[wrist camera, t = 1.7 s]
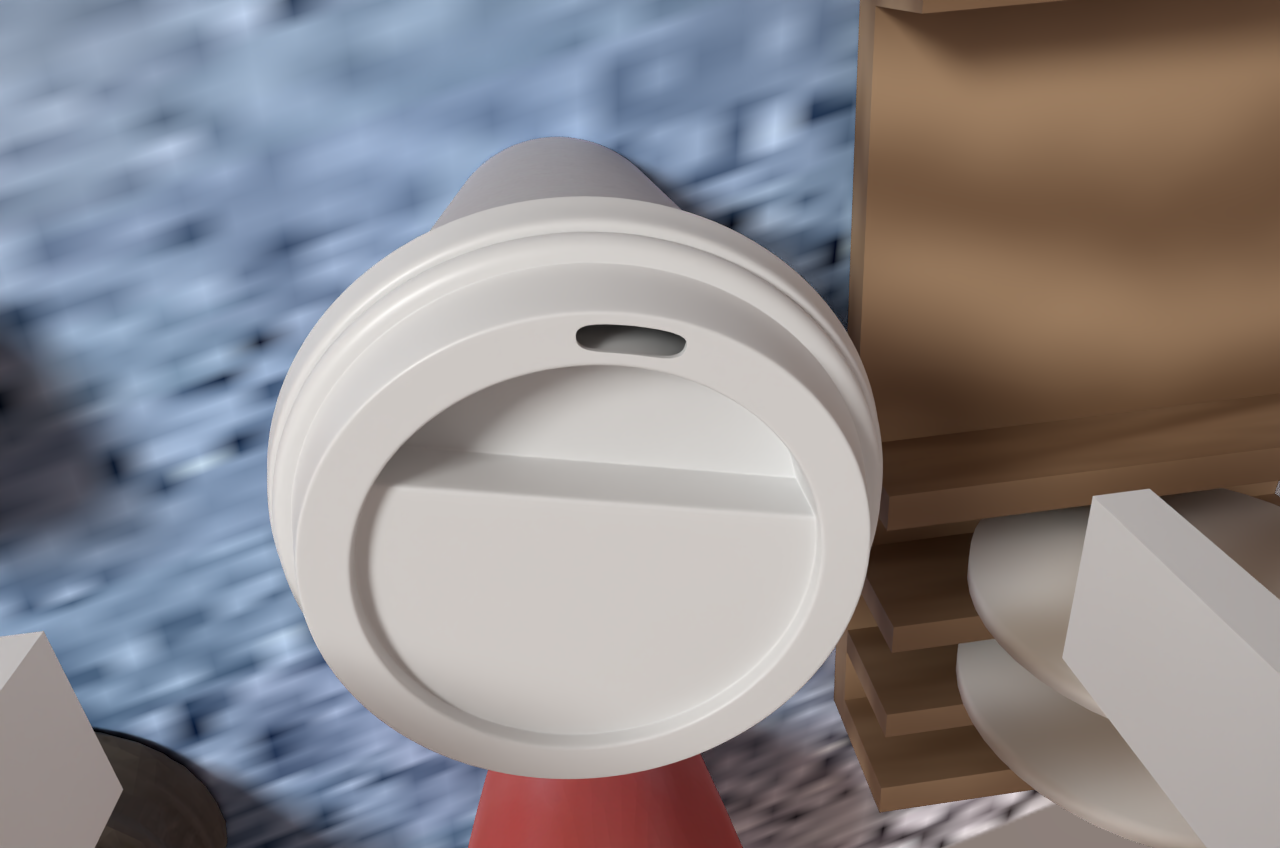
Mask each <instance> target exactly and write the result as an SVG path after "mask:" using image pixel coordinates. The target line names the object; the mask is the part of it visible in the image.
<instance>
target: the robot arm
mask: <svg viewBox="0 0 1280 848" xmlns="http://www.w3.org/2000/svg"><path fill="white" fill-rule="evenodd" d="M1062 658H1063V660H1064V661H1065V662H1066V664H1067V665H1068V666H1069V668H1070V669H1071V670H1072V672H1073V673H1074V674H1075V676H1076V677H1077V678H1078V679H1079V681H1080V682H1081V683H1082V685H1083V686H1084V687H1085V689H1086V690H1087V691H1088V693H1089V694H1090V695H1091V697H1092V698H1093V699H1094V700H1095V702H1096V703H1097V704H1098V706H1099V707H1100V708H1101V710H1102V711H1103V712H1104V714H1105V715H1106V716H1107V718H1108V719H1109V720H1110V721H1111V723H1112V724H1113V725H1114V727H1115V728H1116V729H1117V731H1118V732H1119V733H1120V735H1121V736H1122V737H1123V739H1124V740H1125V741H1126V742H1127V744H1128V745H1129V746H1130V748H1131V749H1132V750H1133V752H1134V753H1135V754H1136V756H1137V757H1138V758H1139V760H1140V761H1141V762H1142V764H1143V765H1144V766H1145V767H1146V769H1147V770H1148V771H1149V773H1150V774H1151V775H1152V777H1153V778H1154V779H1155V781H1156V782H1157V783H1158V785H1159V786H1160V787H1161V788H1162V790H1163V791H1164V792H1165V794H1166V795H1167V796H1168V798H1169V799H1170V800H1171V802H1172V803H1173V804H1174V806H1175V807H1176V808H1177V809H1178V811H1179V812H1180V813H1181V815H1182V816H1183V817H1184V819H1185V820H1186V821H1187V823H1188V824H1189V825H1190V827H1191V828H1192V829H1193V831H1194V832H1195V833H1196V834H1197V836H1198V837H1199V838H1200V840H1201V841H1202V842H1203V844H1204V845H1205V846H1206V848H1280V600H1279V599H1278V598H1277V597H1276V596H1275V595H1273V594H1272V593H1271V592H1270V591H1269V590H1268V589H1266V588H1265V587H1264V586H1263V585H1262V584H1261V583H1259V582H1258V581H1257V580H1256V579H1255V578H1254V577H1252V576H1251V575H1250V574H1249V573H1248V572H1247V571H1245V570H1244V569H1243V568H1242V567H1241V566H1240V565H1238V564H1237V563H1236V562H1235V561H1234V560H1233V559H1231V558H1230V557H1229V556H1228V555H1227V554H1225V553H1224V552H1223V551H1222V550H1221V549H1220V548H1218V547H1217V546H1216V545H1215V544H1214V543H1213V542H1211V541H1210V540H1209V539H1208V538H1207V537H1206V536H1204V535H1203V534H1202V533H1201V532H1200V531H1199V530H1197V529H1196V528H1195V527H1194V526H1193V525H1192V524H1190V523H1189V522H1188V521H1187V520H1186V519H1185V518H1183V517H1182V516H1181V515H1180V514H1179V513H1178V512H1176V511H1175V510H1174V509H1173V508H1172V507H1171V506H1169V505H1168V504H1167V503H1166V502H1165V501H1164V500H1162V499H1161V498H1160V497H1159V496H1158V495H1157V494H1155V493H1154V492H1153V491H1152V490H1151V489H1143V490H1135V491H1128V492H1120V493H1112V494H1104V495H1096V496H1093V498H1092V503H1091V509H1090V514H1089V519H1088V524H1087V530H1086V535H1085V540H1084V545H1083V551H1082V556H1081V561H1080V567H1079V572H1078V577H1077V582H1076V588H1075V593H1074V598H1073V603H1072V609H1071V614H1070V619H1069V625H1068V630H1067V635H1066V640H1065V646H1064V651H1063V656H1062ZM122 791H123V788H122V786H121V784H120V782H119V780H118V778H117V776H116V774H115V772H114V770H113V768H112V766H111V764H110V762H109V760H108V758H107V756H106V754H105V752H104V750H103V748H102V746H101V744H100V742H99V740H98V738H97V736H96V734H95V732H94V730H93V729H92V727H91V725H90V723H89V721H88V719H87V717H86V715H85V713H84V711H83V709H82V707H81V705H80V703H79V701H78V699H77V697H76V695H75V693H74V691H73V689H72V687H71V685H70V683H69V681H68V679H67V677H66V675H65V673H64V671H63V669H62V667H61V665H60V663H59V661H58V659H57V657H56V655H55V653H54V651H53V649H52V647H51V645H50V643H49V641H48V639H47V637H46V635H45V633H44V631H41V632H33V633H26V634H18V635H10V636H2V637H0V848H95V846H96V844H97V842H98V840H99V838H100V836H101V834H102V832H103V830H104V828H105V826H106V824H107V822H108V819H109V817H110V815H111V813H112V811H113V809H114V807H115V805H116V803H117V801H118V799H119V797H120V795H121V793H122Z"/></svg>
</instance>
